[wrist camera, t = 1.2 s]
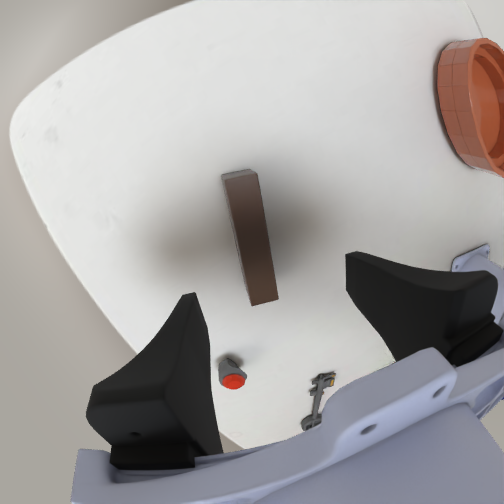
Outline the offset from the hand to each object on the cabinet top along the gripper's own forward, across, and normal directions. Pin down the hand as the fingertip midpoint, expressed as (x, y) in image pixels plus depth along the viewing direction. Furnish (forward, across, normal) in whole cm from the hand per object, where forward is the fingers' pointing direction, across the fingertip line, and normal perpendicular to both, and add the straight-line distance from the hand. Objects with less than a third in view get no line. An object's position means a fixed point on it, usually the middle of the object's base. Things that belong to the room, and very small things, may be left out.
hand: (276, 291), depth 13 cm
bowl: (+8, -26, -9) cm, 29 cm away
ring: (+8, +4, +12) cm, 15 cm away
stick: (+8, 0, 0) cm, 8 cm away
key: (+8, -6, +24) cm, 26 cm away
